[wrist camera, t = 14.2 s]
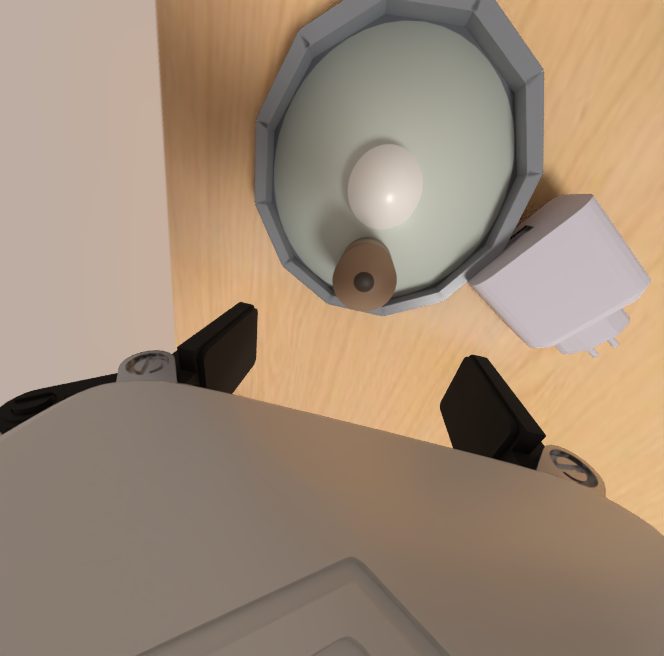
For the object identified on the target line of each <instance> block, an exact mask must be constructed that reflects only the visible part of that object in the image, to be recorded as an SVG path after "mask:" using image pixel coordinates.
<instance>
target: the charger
mask: <svg viewBox="0 0 664 656" xmlns="http://www.w3.org/2000/svg"><path fill="white" fill-rule="evenodd" d="M525 225H527V227H526V228H525V229H524V230H522V231H521V232H520V233H519V234H517V235H516V236H515V237H514V238H512V239H511V240H510V241H509V242H508V243H507V245H506V247H505V249H504V251H503V253H500V254H501V255H500V256H499V257H497V258H496V259H495V260H494V261H492V262H491V263H490V264H489V265H488V266H486V267H485V268H484V269H483V270H481V271H480V272H479V273H478V274H476V275H475V276H474V277H473V278H471V279H470V280H469V281H468V284H469V285H470V286H471V287H472V288H473V289H474V290H475V291H476V292H477V293H478V294H479V295H480V296H481V298H482V299H483V300H484V301H485V302H486V303H487V304H488V305H489V306H490V307H491V308H492V309H493V310H494V311H495V313H496V314H497V315H498V316H499V317H500V318H501V319H502V320H503V321H504V322H505V323H506V324H507V325H508V327H509V328H510V329H511V330H512V331H513V332H514V333H515V334H516V335H517V336H518V337H519V338H520V339H522V340H523V341H524V342H525V343H526V344H527V345H528V346H529V347H531V348H541V347H552V346H554V345H555V347H556V348H557V349H558V350H559V351H560V352H561V353H562V354H572V353H577V352H582V351H588V352H589V353H590V355H591V356H592V357H597V356H598V355H599V354H598V353H597V351H596V350H595V349H594V347H596V346H598V345H600V344H602V343H604V342H605V341H608V342H609V343H610V344H611V346H612V347H617V346H619V343H618V342H617V340H616V339H615V338H614V337H615V336H617V335H619V334H620V332H621V331H622V330H623V329H624V328H625V327H626V326H627V324H628V323H629V321H630V318H629V316H628V315H627V314H626V312H625V311H624V310H623V307H625V306H627V305H629V304H631V303H632V302H634V301H636V300H637V299H638V298H639V297H640V296H641V295H642V293H643V292H644V291H645V289H646V288H647V287H648V285H649V284H650V282H651V278H650V277H649V276H648V274H647V273H646V271H645V270H644V268H643V267H642V265H641V264H640V262H639V261H638V260H637V258H636V257H635V255H634V254H633V252H632V251H631V249H630V248H629V246H628V245H627V244H626V242H625V241H624V239H623V238H622V236H621V235H620V233H619V232H618V230H617V229H616V228H615V226H614V225H613V223H612V222H611V220H610V219H609V217H608V216H607V214H606V213H605V212H604V210H603V209H602V207H601V206H600V204H599V203H598V201H597V200H596V198H595V197H594V196H593V195H592V194H571V195H559V196H557V197H555V198H553V199H552V200H550V201H549V202H547V203H546V204H545V205H544V206H542V207H541V208H540V209H539V210H537V211H536V212H535V213H534V214H532V215H531V216H530V217H529V218H527V219H526V220H525V221H524V222H522V223H521V224H520V225H519V226H518V227H516V228H515V229H514V231H513V233H512V235H511V237H512V236H513V235H514V234H515V233H517V232H518V231H519V230H520V229H522V228H523V227H524V226H525Z"/></svg>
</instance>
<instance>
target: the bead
mask: <svg viewBox="0 0 664 656" xmlns="http://www.w3.org/2000/svg"><path fill="white" fill-rule="evenodd" d="M332 284H333V289H334V292H335V294H336V296H337V298H338V299H339V300H340V301H341V302H342V303H343V304H344V305H345V306H347V307H348V308H350V309H353V310H356V311H372V310H375V309H378V308H380V307H382V306H383V305H384V304H386V303H387V302H388V301H389V300H390V298H391V297H392V295H393V294H394V291H395V289H396V285H397V275H396V271H395V267H394V264H393V261H392V258H391V255H390V252H389V250H388V248H387V247H386V246H385V245H384V244H383V243H382V242H381V241H379V240H377V239H374V238H360V239H357V240H355V241H354V242H352V243H351V244H350V245H349V246H348V247H347V248H346V249H345V251H344V253H343V255H342V256H341V258H340V260H339V262H338V264H337V265H336V267H335V270H334V273H333V278H332Z"/></svg>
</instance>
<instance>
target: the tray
mask: <svg viewBox="0 0 664 656" xmlns="http://www.w3.org/2000/svg"><path fill="white" fill-rule="evenodd" d="M543 70H544V69H543V68H542V66H541V65H540V64H539V62H538V61H537V59H536V58H535V56H534V55H533V54H532V52H531V51H530V49H529V48H528V46H527V45H526V44H525V42H524V41H523V39H522V38H521V36H520V35H519V33H518V32H517V31H516V29H515V28H514V26H513V25H512V23H511V22H510V21H509V19H508V18H507V16H506V15H505V13H504V12H503V11H502V9H501V8H500V6H499V5H498V3H497V2H496V0H343V1H342V2H340V3H339V4H337V5H336V6H334V7H333V8H331V9H330V10H328V11H327V12H325V13H324V14H322V15H321V16H319V17H318V18H316V19H315V20H313V21H312V22H310V23H309V24H307V25H306V26H304V27H303V28H301V29H300V32H299V31H298V33H297V35H296V37H295V39H294V41H293V43H292V45H291V47H290V50H289V52H288V54H287V56H286V58H285V60H284V62H283V64H282V66H281V68H280V70H279V72H278V74H277V77H276V79H275V81H274V83H273V85H272V87H271V89H270V91H269V93H268V95H267V97H266V99H265V101H264V103H263V106H262V108H261V110H260V112H259V114H258V116H257V118H256V119H257V120H258V121H256V136H255V203H256V204H255V205H256V207H257V210H258V212H259V214H260V216H261V219H262V221H263V223H264V226H265V228H266V230H267V232H268V235H269V237H270V239H271V241H272V244H273V246H274V248H275V250H276V253H277V255H278V257H279V259H280V262H281V264H282V266H283V267H284V268H285V269H287V270H288V271H289V272H290V273H291V274H292V275H294V276H295V277H296V278H297V279H298V280H300V281H301V282H302V283H303V284H304V285H306V286H307V287H308V288H309V289H310V290H312V291H313V292H314V293H315V294H316V295H317V296H319V297H320V298H321V299H322V300H323V301H325V302H326V303H328V304H330V305H334V306H339V307H343V308H348V307H347V306H345V305H344V304H343V303H342V302H341V301H340V300H339V299H338V298H337V296H336V294H335V292H334V289H333V284H332V278H333V273H334V270H335V267H336V265H337V264H338V262H339V260H340V258H341V256H342V255H343V253H344V251H345V249H346V248H347V247H348V246H349V245H350V244H351V243H352V242H354V241H355V240H357V239H360V238H374V239H377V240H379V241H381V242H382V243H383V244H384V245H385V246H386V247H387V248H388V250H389V252H390V255H391V258H392V261H393V264H394V267H395V271H396V275H397V285H396V289H395V291H394V294H393V295H392V297H391V298H390V300H389V301H388V302H387V303H386V304H384V305H383V306H382V307H380V308H378V309H375V310H372V311H361V312H366V313H370V314H375V315H379V316H386V315H390V314H394V313H398V312H402V311H406V310H410V309H414V308H418V307H422V306H426V305H430V304H434V303H438V302H442V301H443V300H445V299H447V298H448V297H449V296H450V295H452V294H453V293H454V292H455V291H457V290H458V289H459V288H460V287H462V286H463V285H464V284H465V283H467V282H468V281H469V280H470V279H471V278H473V277H474V276H475V275H476V274H478V273H479V272H480V271H481V270H483V269H484V268H485V267H486V266H488V265H489V264H490V263H491V262H492V261H494V260H495V259H496V258H497V257H499V256H500V255H501V254H500V253H503V251H504V249H505V247H506V245H507V243H508V241H509V239H510V237H511V235H512V233H513V231H514V229H515V227H516V225H517V223H518V221H519V219H520V218H521V216H522V214H523V212H524V210H525V208H526V206H527V204H528V202H529V200H530V198H531V196H532V194H533V192H534V190H535V188H536V186H537V184H538V182H539V180H540V178H541V176H542V175H543V174H541V173H543V138H544V71H543ZM542 71H543V72H542ZM348 309H350V308H348ZM352 310H353V309H352Z"/></svg>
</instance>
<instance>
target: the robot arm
mask: <svg viewBox="0 0 664 656" xmlns="http://www.w3.org/2000/svg"><path fill="white" fill-rule="evenodd" d="M257 316H258V311H257V309H255V308H254V306H253V305H251V304H247V303H243V302H239V303H238V304H236V305H235V306H234V307H232V308H231V309H229V310H228V311H227V312H225V313H224V314H223V315H221V316H220V317H218V318H217V319H216V320H214V321H213V322H211V323H210V324H209V325H207V326H206V327H204V328H203V329H202V330H200V331H199V332H198V333H196V334H195V335H193V336H192V337H191V338H189V339H188V340H186V341H185V342H184V343H182V344H181V345H179V346H178V347H177V351H176V352H174V353H173V354H170V353H168V352H165V351H159V350H154V351H146V352H140V353H138V354H135V355H132V356H131V357H129V358H127V359H125V360H124V361H123V362H122V363H121V364H120V366H119V369H118V373H116V374H111V375H106V376H101V377H96V378H91V379H86V380H81V381H76V382H71V383H67V384H62V385H57V386H52V387H47V388H42V389H38V390H33V391H30V392H27V393H24V394H22V395H20V396H18V397H16V398H14V399H12V400H10V401H8V402H7V403H5V404H4V405H2V406H1V407H0V656H664V536H663V535H662V534H661V533H660V532H659V531H657V530H656V529H655V528H654V527H653V526H651V525H650V524H649V523H647V522H646V521H644V520H643V519H641V518H640V517H638V516H636V515H635V514H633V513H632V512H630V511H628V510H627V509H625V508H623V507H622V506H620V505H618V504H617V503H615V502H613V501H611V500H609V499H607V498H606V497H605V496H606V488H605V484H604V482H603V480H602V478H601V477H600V475H599V474H598V473H597V472H596V471H595V470H594V469H593V468H592V467H591V466H590V465H589V464H588V463H587V462H585V461H584V460H583V459H581V458H580V457H578V456H577V455H576V454H574V453H572V452H570V451H568V450H566V449H564V448H561V447H559V446H554V445H547V446H544V445H543V444H542V442H541V441H542V440H543V439H544V438H545V437H546V435H545V433H544V432H543V431H542V429H541V428H540V427H539V426H538V424H537V423H536V422H535V420H534V419H533V418H532V416H531V415H530V414H529V412H528V411H527V410H526V408H525V407H524V406H523V405H522V403H521V402H520V401H519V399H518V398H517V397H516V395H515V394H514V393H513V391H512V390H511V389H510V387H509V386H508V385H507V383H506V382H505V381H504V380H503V378H502V377H501V376H500V374H499V373H498V372H497V370H496V369H495V368H494V366H493V365H492V364H491V362H490V361H489V360H488V359H487V358H485V357H481V356H477V355H470V356H469V357H465V358H464V359H463V361H462V363H461V365H460V367H459V369H458V371H457V372H456V374H455V376H454V378H453V380H452V382H451V384H450V386H449V388H448V389H447V391H446V393H445V395H444V397H443V399H442V401H441V403H440V410H441V413H442V416H443V419H444V422H445V425H446V428H447V431H448V434H449V437H450V440H451V443H452V446H453V448H449V447H445V446H441V445H437V444H433V443H429V442H425V441H421V440H417V439H413V438H409V437H405V436H402V435H398V434H394V433H390V432H386V431H381V430H377V429H373V428H369V427H365V426H361V425H357V424H353V423H349V422H345V421H341V420H337V419H333V418H329V417H325V416H321V415H316V414H312V413H308V412H304V411H300V410H296V409H292V408H288V407H283V406H279V405H275V404H271V403H267V402H263V401H258V400H254V399H250V398H246V397H242V396H238V395H234V394H232V393H233V392H234V391H235V389H236V388H237V387H238V385H239V384H240V383H241V381H242V380H243V379H244V377H245V376H246V375H247V373H248V372H249V371H250V369H251V368H252V367H253V365H254V363H255V361H256V347H257Z"/></svg>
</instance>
